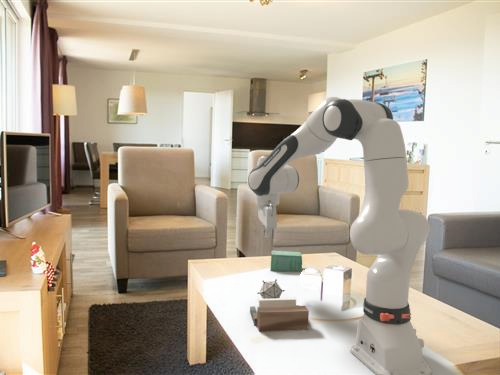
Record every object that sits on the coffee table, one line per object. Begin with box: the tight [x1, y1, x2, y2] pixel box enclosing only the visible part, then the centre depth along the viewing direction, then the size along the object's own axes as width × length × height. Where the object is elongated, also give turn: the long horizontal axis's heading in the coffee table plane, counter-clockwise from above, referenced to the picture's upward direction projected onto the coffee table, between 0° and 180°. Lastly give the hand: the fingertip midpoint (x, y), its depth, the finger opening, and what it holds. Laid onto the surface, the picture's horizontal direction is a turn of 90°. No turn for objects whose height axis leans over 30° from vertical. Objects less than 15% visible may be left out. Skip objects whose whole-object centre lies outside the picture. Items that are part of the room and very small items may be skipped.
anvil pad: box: [258, 297, 297, 307], centre depth 150 cm, size 2×12×5 cm, turn 98°
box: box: [270, 250, 303, 273], centre depth 202 cm, size 7×14×8 cm, turn 87°
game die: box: [257, 279, 286, 299], centre depth 161 cm, size 9×8×10 cm
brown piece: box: [249, 304, 310, 333], centre depth 146 cm, size 15×17×6 cm
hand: (266, 236), depth 171 cm, fingers open, 3 cm apart
